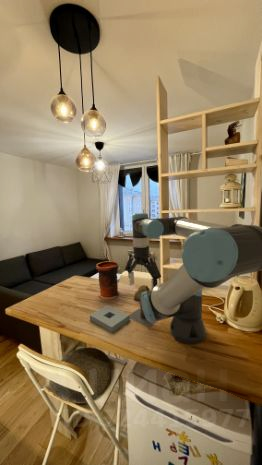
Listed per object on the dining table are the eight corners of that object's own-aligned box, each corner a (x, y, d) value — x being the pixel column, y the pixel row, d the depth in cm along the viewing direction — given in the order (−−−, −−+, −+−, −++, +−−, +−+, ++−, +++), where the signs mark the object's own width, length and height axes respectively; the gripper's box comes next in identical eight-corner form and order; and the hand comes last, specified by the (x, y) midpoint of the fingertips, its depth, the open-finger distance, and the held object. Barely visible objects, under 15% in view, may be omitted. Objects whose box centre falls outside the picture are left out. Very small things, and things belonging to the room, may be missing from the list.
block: (129, 320, 97) (129, 315, 96) (112, 333, 88) (111, 327, 87) (107, 310, 107) (107, 305, 106) (90, 320, 98) (89, 315, 98)
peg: (147, 316, 98) (147, 294, 97) (144, 319, 96) (143, 296, 94) (143, 314, 100) (142, 292, 99) (139, 317, 98) (138, 295, 96)
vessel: (94, 291, 130) (93, 262, 127) (114, 287, 136) (114, 259, 133) (100, 301, 117) (99, 269, 114) (122, 296, 123) (122, 265, 120)
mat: (160, 318, 98) (160, 317, 98) (149, 328, 90) (149, 327, 90) (138, 309, 107) (138, 308, 107) (126, 317, 99) (126, 316, 99)
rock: (129, 298, 115) (143, 300, 109) (132, 283, 118) (146, 285, 113) (138, 302, 122) (152, 304, 116) (141, 288, 126) (155, 290, 120)
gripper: (168, 247, 88) (168, 291, 91) (126, 241, 104) (128, 279, 107) (159, 250, 82) (159, 298, 85) (116, 244, 98) (118, 284, 102)
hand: (142, 287), depth 96 cm, fingers open, 13 cm apart
